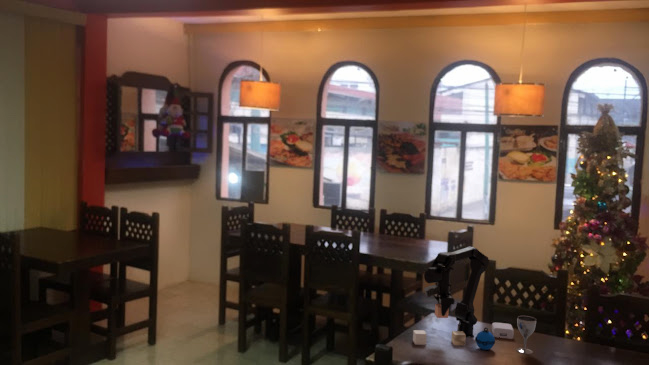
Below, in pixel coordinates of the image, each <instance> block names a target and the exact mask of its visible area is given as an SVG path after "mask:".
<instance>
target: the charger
mask: <svg viewBox="0 0 649 365" xmlns="http://www.w3.org/2000/svg"><path fill="white" fill-rule="evenodd" d="M491 331H492V332H491V333H492V334H493V336H494V338H499V337H500V338H501V339H509V340H513V339H514V335H515V334H514V333H515V332H514V328H513V325H512V324H511V323H504V322H492V324H491ZM500 338H499V339H500Z"/></svg>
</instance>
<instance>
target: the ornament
mask: <svg viewBox="0 0 649 365" xmlns="http://www.w3.org/2000/svg"><path fill="white" fill-rule="evenodd" d="M474 337H475V339H474V341H475V343H476V345H477V347H478V348H479V349H481V350H483V351H488V350H490V349H493V347H494V346H495V344H496V337H494V336H493V333H492V332H490V331H489V328H488V327H484V328H483V330H481V331H479V332H478V333H477V334H476V336H474Z"/></svg>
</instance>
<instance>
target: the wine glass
mask: <svg viewBox="0 0 649 365" xmlns="http://www.w3.org/2000/svg"><path fill="white" fill-rule="evenodd" d="M516 321H517V329H518V331H519V333H520V334H521V335H522V338H523V347H518V348H516V349H515V350H516V352H518V353H520V354H523V355H524V354H526V355H530V354H533V350H531V349H529V348H527V341H528V338H529V337H530V336H531V335H532V334H533V333H534V332H535V330H536V325H537V318H535V317H534V316H530V315H519V316H517V319H516Z"/></svg>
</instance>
